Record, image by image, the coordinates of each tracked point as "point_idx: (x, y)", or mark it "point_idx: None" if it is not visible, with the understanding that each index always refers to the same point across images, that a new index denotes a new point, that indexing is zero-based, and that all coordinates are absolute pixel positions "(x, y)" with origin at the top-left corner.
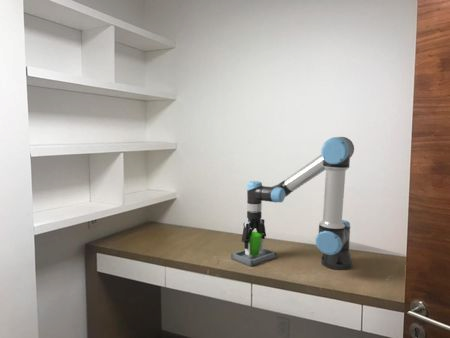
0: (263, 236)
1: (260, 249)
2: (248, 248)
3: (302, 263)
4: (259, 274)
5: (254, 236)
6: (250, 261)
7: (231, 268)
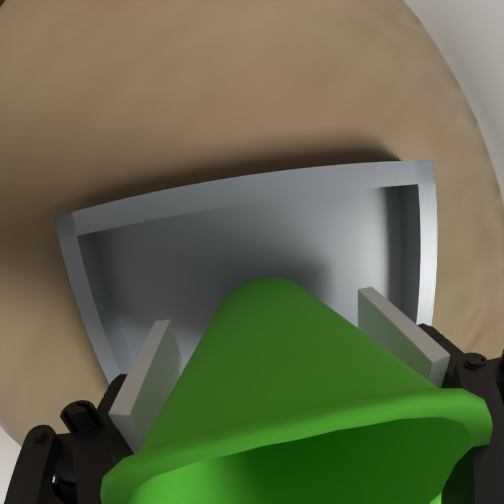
0: (74, 440)
1: (171, 340)
2: (408, 324)
3: (36, 34)
4: (418, 39)
5: (484, 407)
6: (430, 168)
7: (489, 230)
